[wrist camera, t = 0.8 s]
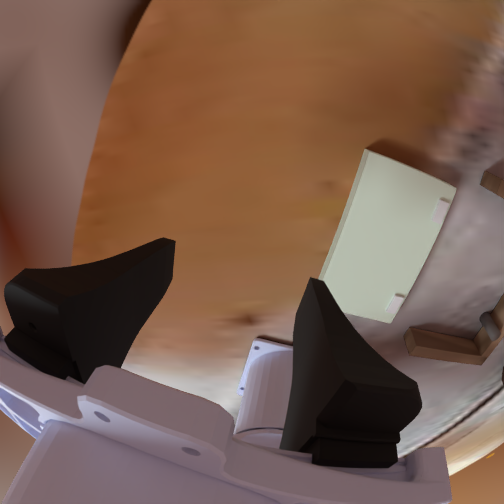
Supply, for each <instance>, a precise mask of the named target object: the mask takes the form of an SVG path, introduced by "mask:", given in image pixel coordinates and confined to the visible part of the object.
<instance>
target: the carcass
mask: <svg viewBox="0 0 504 504" xmlns="http://www.w3.org/2000/svg"><path fill="white" fill-rule="evenodd" d="M480 185H481V186H483V187H485V188H487V189H488V190H490V191H492V192H493V193H495V194H497V195H498V196H500V197H502V198H503V199H504V180H503V179H501V178H499V177H497V176H495V175H493V174H491V173H489V172H487V171H485V172H484V175H483V177H482V180H481V183H480ZM480 321H481V323H482V325H483V327H482V328H481V330H480V331H479V332H478V334H477V335H476V337H475V338H474V339H473V340H471V339H466V338H460V337H455V336H450V335H445V334H440V333H435V332H431V331H426V330H421V329H416V328H412V327H409V329H408V330H407V332H406V334H405V335H404V339H405V342H406V346H407V349H408V352H409V355H411V356H417V357H423V358H430V359H436V360H443V361H451V362H458V363H466V364H474V365H482V364H483V363H484V361H485V360H486V359H487V358H488V356H489V355H490V354H491V353H492V351H493V350H494V349H495V347H496V346H497V345H498V343H499V342H500V341H501V339H502V338H503V337H504V294H503V295H502V297H501V299H500V300H499V302H498V304H497V305H496V307H495V308H494V310H493V312H492V313H491V315H490V314H489V313H488V312H485V313H483V314H482V315H481V317H480Z"/></svg>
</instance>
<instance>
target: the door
mask: <svg viewBox="0 0 504 504" xmlns="http://www.w3.org/2000/svg"><path fill="white" fill-rule="evenodd" d="M456 189H457V188H455V187H454V186H452V185H450V184H449V183H447V182H445V181H443V180H441V179H439V178H436V177H434V176H432V175H430V174H428V173H425V172H423V171H421V170H418V169H416V168H414V167H411V166H409V165H407V164H404V163H402V162H399V161H397V160H394V159H392V158H389V157H387V156H384V155H382V154H379V153H376V152H373V151H371V150H368V149H364V152H363V155H362V159H361V162H360V165H359V168H358V171H357V174H356V177H355V180H354V183H353V186H352V189H351V192H350V195H349V198H348V201H347V204H346V207H345V209H344V212H343V215H342V218H341V221H340V223H339V226H338V229H337V232H336V234H335V237H334V240H333V242H332V245H331V248H330V250H329V253H328V255H327V258H326V260H325V263H324V266H323V268H322V271H321V273H320V276H319V278H318V279H319V280H323V281H324V282H325V284H326V285H327V287H328V289H329V290H330V292H331V294H332V295H333V297H334V299H335V300H336V302H337V304H338V305H339V307H340V309H341V310H342V312H344V313H348V314H352V315H356V316H360V317H364V318H369V319H373V320H377V321H381V322H385V323H390V324H391V322H392V320H393V319H394V317H395V315H396V314H397V312H398V310H399V309H400V307H401V305H402V303H403V302H404V300H405V298H406V296H407V295H408V293H409V291H410V289H411V287H412V286H413V284H414V282H415V280H416V278H417V276H418V274H419V272H420V270H421V268H422V267H423V265H424V263H425V261H426V259H427V257H428V254H429V252H430V250H431V248H432V246H433V244H434V242H435V240H436V238H437V235H438V233H439V231H440V229H441V226H442V224H443V222H444V219H445V217H446V215H447V212H448V210H449V207H450V205H451V202H452V200H453V197H454V195H455V192H456Z"/></svg>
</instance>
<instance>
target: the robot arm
mask: <svg viewBox="0 0 504 504" xmlns="http://www.w3.org/2000/svg"><path fill="white" fill-rule="evenodd" d="M175 243H176V241H174V240H171V239H167V238H164V237H163V238H160V239H157V240H154V241H152V242H149V243H147V244H144V245H142V246H140V247H137V248H135V249H132V250H130V251H127V252H124V253H121V254H119V255H116V256H113V257H110V258H107V259H104V260H100V261H96V262H92V263H88V264H82V265H77V266H71V267H63V268H50V269H27V268H26V269H24V270H23V271H22V272H20V273H19V274H18V275H17V276H15V277H14V278H13V279H12V280H11V281H10V282H8V283H7V284H6V285H5V289H4V297H5V301H6V305H7V308H8V310H9V313H10V316H11V319H12V321H13V324H14V326H15V327H14V328H13V329H12V330H11V332H10V333H9V334H8V335H7V336H4V335H3V332H2V329H1V327H0V409H1V410H2V411H3V412H4V413H5V414H6V415H7V416H8V417H10V418H11V419H12V420H13V421H14V422H15V423H17V424H18V425H19V426H20V427H21V428H23V429H24V430H25V431H26V432H28V433H29V434H30V435H32V436H33V437H34V438H35V439H37V440H36V441H35V443H34V445H33V446H32V448H31V450H30V451H29V453H28V455H27V457H26V458H25V460H24V462H23V464H22V465H21V467H20V469H19V471H18V473H17V475H16V477H15V478H14V480H13V482H12V484H11V486H10V488H9V490H8V492H7V493H6V495H5V498H4V499H3V501H2V503H1V504H447V503H449V502H451V500H452V495H451V487H450V481H449V474H448V468H447V462H446V457H445V451H444V447H432V448H421V449H417V450H415V451H413V452H412V453H410V454H409V455H408V456H407V457H406V458H398V455H397V447H396V444H398V443H399V442H400V433H399V432H400V431H402V430H403V429H404V428H405V427H406V426H407V425H408V424H409V423H410V422H412V421H413V420H414V419H415V417H416V416H417V415H418V414H419V413H420V410H421V408H422V400H421V396H420V392H419V388H418V385H417V382H415V381H414V380H412V379H411V378H409V377H408V376H406V375H405V374H403V373H402V372H400V371H399V370H397V369H396V368H395V367H393V366H392V365H391V364H390V363H388V362H387V361H386V360H385V359H384V358H382V357H381V356H380V355H379V354H378V353H377V352H376V351H375V350H374V349H373V348H372V347H371V346H370V345H369V344H368V343H367V342H366V341H365V340H364V339H363V338H362V337H361V336H360V334H359V333H358V332H357V331H356V330H355V328H354V327H353V326H352V324H351V323H350V322H349V320H348V319H347V318H346V316H345V315H344V313H343V312H342V310H341V309H340V307H339V305H338V304H337V302H336V300H335V299H334V297H333V295H332V294H331V292H330V290H329V289H328V287H327V285H326V284H325V282H324V281H323V280H319V279H315V278H311V277H310V279H309V282H308V284H307V287H306V290H305V292H304V295H303V297H302V300H301V302H300V305H299V308H298V310H297V313H296V318H295V324H294V331H293V346H289V345H285V344H280V343H276V342H272V341H268V340H264V339H260V338H256V339H254V340H253V343H252V346H251V350H250V353H249V356H248V359H247V362H246V365H245V368H244V371H243V374H242V377H241V380H240V383H239V386H238V389H237V394H238V395H240V396H243V397H242V401H241V405H240V410H239V414H238V418H237V422H236V426H235V425H234V420H233V417H232V416H231V414H229V413H228V412H227V411H226V410H225V409H224V408H222V407H221V406H220V405H219V404H216V403H214V402H212V401H209V400H207V399H205V398H203V397H199V396H196V395H193V394H190V393H187V392H184V391H180V390H178V389H175V388H172V387H169V386H166V385H163V384H160V383H158V382H155V381H152V380H149V379H147V378H144V377H142V376H139V375H137V374H134V373H132V372H129V371H127V370H124V369H121V366H122V364H123V362H124V360H125V358H126V355H127V353H128V351H129V349H130V347H131V345H132V343H133V341H134V340H135V338H136V336H137V334H138V333H139V331H140V329H141V328H142V326H143V325H144V324H145V322H146V321H147V319H148V318H149V316H150V315H151V314H152V312H153V311H154V309H155V308H156V306H157V305H158V304H159V302H160V301H161V299H162V298H163V296H164V295H165V293H166V291H167V289H168V287H169V285H170V283H171V281H172V277H173V265H174V253H175ZM256 346H258V347H256ZM234 428H235V431H234ZM233 432H234V434H233Z"/></svg>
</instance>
